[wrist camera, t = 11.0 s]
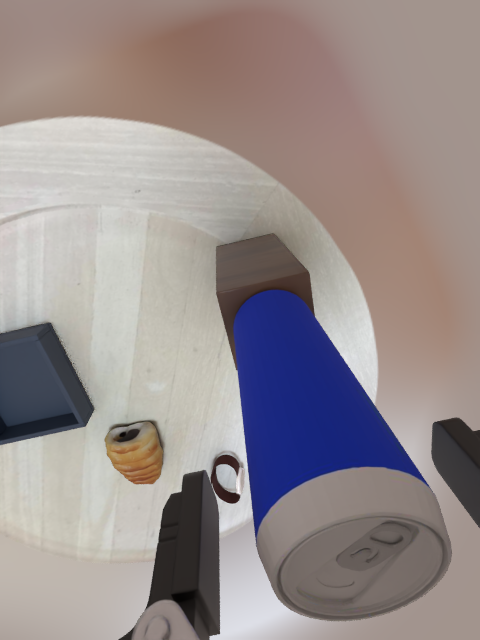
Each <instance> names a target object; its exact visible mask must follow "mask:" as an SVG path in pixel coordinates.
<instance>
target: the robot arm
mask: <svg viewBox="0 0 480 640" xmlns="http://www.w3.org/2000/svg"><path fill="white" fill-rule="evenodd" d="M432 429H433V430H432V451H431V452H432V459H433V462H434V465H435V467H436V469H437V471H438V472H439V474H440V475H441V476H442V478H443V479H444V481H445V482H446V483H447V485H448V486H449V487H450V489H451V490H452V491H453V493H454V494H455V495H456V497H457V498H458V500H459V501H460V502H461V504H462V505H463V506H464V508H465V509H466V510H467V512H468V513H469V514H470V516H471V517H472V518H473V520H474V521H475V523H476V524H477V525H478V527H479V528H480V430H478V431H472V430H471V429H470V428H469V427H468V426H467V425H466V424H465V423H464V422H463V421H462V420H461V419H460V418H451V419H447V420H442V421H437V422H434V423H433V428H432ZM158 540H159V543H158V545H157V552H156V558H155V565H154V571H153V577H152V584H151V590H150V596H149V601H148V604H147V607H146V609H145V611H144V612H143V614H142V615H141V616H140V618H139V619H138V621H137V623H136V625H135V626H134V628H133V629H132V630H131V631H130V632H128V633H127V634H126V635H125V636H123V637H122V638H120V639H119V640H209V636H212V635H217V634H220V595H219V594H220V592H219V591H220V589H219V588H220V583H219V511H218V504H217V500H216V496H215V494H214V491H213V488H212V485H211V483H210V480H209V477H208V475H207V472H206V470H202V471H198V472H193V473H188V474H185V475H184V476H183V482H182V492H179V493H174V494H171V495H170V497H169V499H168V501H167V503H166V505H165V507H164V509H163V513H162V520H161V529H160V532H159V539H158Z"/></svg>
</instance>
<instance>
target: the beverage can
mask: <svg viewBox="0 0 480 640" xmlns="http://www.w3.org/2000/svg"><path fill="white" fill-rule="evenodd" d="M233 331H234V341H235V351H236V360H237V369H238V379H239V388H240V397H241V407H242V416H243V425H244V435H245V444H246V453H247V463H248V472H249V481H250V491H251V500H252V509H253V519H254V527H255V537H256V546H257V550H258V554H259V557H260V559H261V561H262V564H263V566H264V569H265V571H266V573H267V576H268V578H269V581H270V583H271V586H272V588H273V590H274V592H275V594H276V596H277V597H278V599H279V600H280V601H281V602H282V603H283V604H284V605H285V606H286V607H288V608H289V609H290V610H292V611H294V612H296V613H298V614H300V615H303V616H307V617H309V618H314V619H319V620H327V621H352V620H361V619H367V618H372V617H376V616H380V615H384V614H387V613H390V612H393V611H395V610H398V609H400V608H402V607H405V606H407V605H408V604H410V603H412V602H414V601H416V600H417V599H419V598H420V597H422V596H423V595H425V594H426V593H428V591H430V590H431V589H432V588H433V587H435V586H436V585H437V583H438V582H439V581H440V580H441V579H442V578H443V576H444V574H445V573H446V571H447V570H448V567H449V564H450V562H451V556H452V550H451V543H450V539H449V536H448V533H447V530H446V526H445V523H444V520H443V516H442V513H441V510H440V506H439V503H438V501H437V499H436V496H435V494H434V493H433V491H432V490H431V488H430V487H429V485H428V484H427V482H426V481H425V480H424V478H423V477H422V475H421V473H420V472H419V471H418V469H417V468H416V466H415V465H414V463H413V462H412V460H411V459H410V457H409V456H408V454H407V453H406V451H405V450H404V448H403V447H402V446H401V444H400V442H399V441H398V439H397V438H396V436H395V435H394V433H393V432H392V430H391V429H390V427H389V426H388V425H387V423H386V422H385V420H384V419H383V417H382V416H381V414H380V413H379V411H378V410H377V408H376V407H375V405H374V404H373V402H372V401H371V399H370V398H369V396H368V395H367V393H366V392H365V390H364V389H363V387H362V386H361V385H360V383H359V382H358V380H357V379H356V377H355V376H354V374H353V373H352V371H351V370H350V368H349V367H348V365H347V364H346V362H345V361H344V359H343V358H342V356H341V355H340V353H339V352H338V350H337V349H336V347H335V346H334V345H333V343H332V342H331V340H330V339H329V337H328V336H327V334H326V333H325V331H324V330H323V328H322V327H321V325H320V324H319V322H318V321H317V319H316V318H315V316H314V315H313V313H312V312H311V310H310V309H309V307H308V306H307V305H306V303H305V302H304V301H303V300H302V299H301V298H300V297H298V296H297V295H295V294H293V293H291V292H288V291H284V290H268V291H264V292H261V293H258V294H256V295H254V296H252V297H251V298H249V299H248V300H247V301H246V302H245V303H244V304H243V305H242V306H241V307H240V309H239V310H238V312H237V314H236V317H235V320H234V326H233Z"/></svg>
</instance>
